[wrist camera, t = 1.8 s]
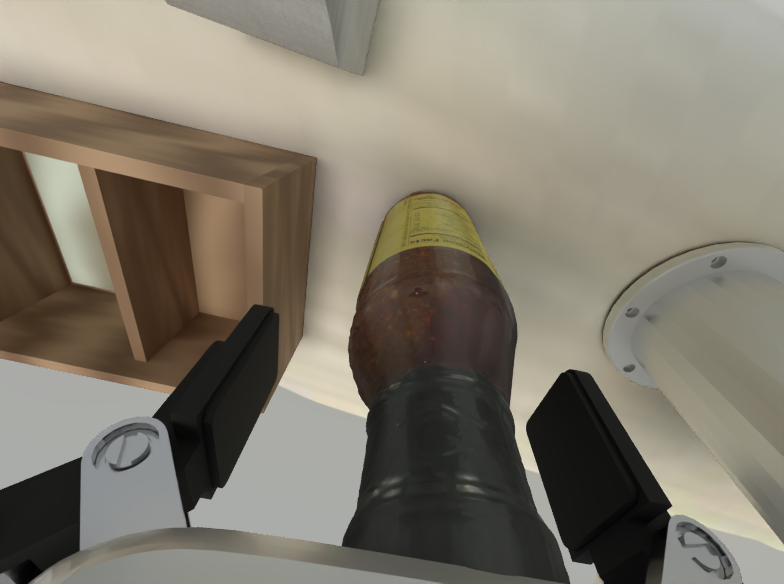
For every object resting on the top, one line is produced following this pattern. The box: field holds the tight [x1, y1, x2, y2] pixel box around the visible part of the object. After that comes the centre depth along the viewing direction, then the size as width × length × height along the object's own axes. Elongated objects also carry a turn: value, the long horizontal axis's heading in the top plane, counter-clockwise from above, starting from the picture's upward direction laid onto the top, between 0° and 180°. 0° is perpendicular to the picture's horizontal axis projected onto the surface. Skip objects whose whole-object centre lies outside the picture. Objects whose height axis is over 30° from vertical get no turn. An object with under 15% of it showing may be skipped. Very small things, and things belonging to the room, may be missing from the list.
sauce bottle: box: [342, 192, 570, 584], centre depth 14 cm, size 6×6×20 cm
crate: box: [0, 82, 317, 413], centre depth 20 cm, size 20×15×8 cm
